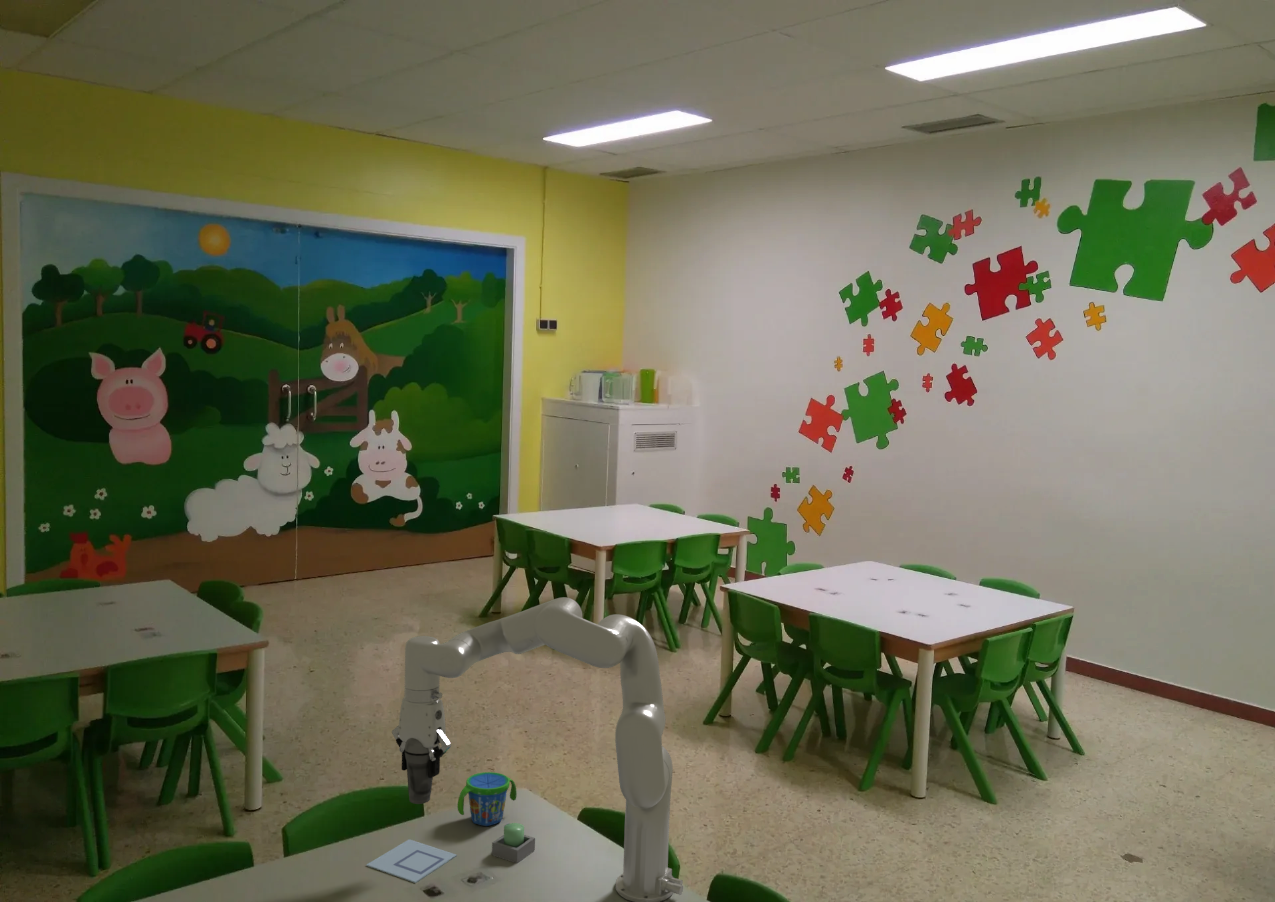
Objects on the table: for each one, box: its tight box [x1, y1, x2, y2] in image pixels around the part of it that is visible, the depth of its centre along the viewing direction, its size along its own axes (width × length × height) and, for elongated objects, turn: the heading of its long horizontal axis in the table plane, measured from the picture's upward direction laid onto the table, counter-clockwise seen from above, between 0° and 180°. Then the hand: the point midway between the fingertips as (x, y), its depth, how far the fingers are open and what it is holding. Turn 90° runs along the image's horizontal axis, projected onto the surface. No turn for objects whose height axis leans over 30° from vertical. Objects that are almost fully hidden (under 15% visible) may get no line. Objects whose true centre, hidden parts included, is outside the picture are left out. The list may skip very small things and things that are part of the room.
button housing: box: [491, 834, 536, 864], centre depth 225 cm, size 7×7×3 cm
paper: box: [365, 838, 458, 884], centre depth 220 cm, size 14×14×1 cm
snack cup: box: [456, 771, 518, 827], centre depth 240 cm, size 16×10×10 cm
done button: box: [503, 822, 525, 848], centre depth 225 cm, size 5×5×4 cm
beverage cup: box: [404, 738, 436, 805], centre depth 217 cm, size 7×7×20 cm
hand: (420, 771), depth 217 cm, fingers closed on beverage cup, 6 cm apart
